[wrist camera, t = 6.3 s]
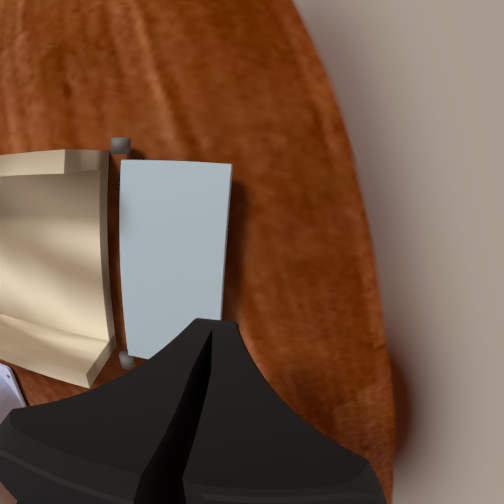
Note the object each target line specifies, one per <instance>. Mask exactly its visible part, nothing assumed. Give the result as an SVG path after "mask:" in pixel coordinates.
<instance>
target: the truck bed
mask: <svg viewBox="0 0 504 504" xmlns="http://www.w3.org/2000/svg"><path fill="white" fill-rule="evenodd" d="M130 141H131V138H111V150H110V154H130ZM108 166H109V151H107V150H52V151H39V152H28V153H18V154H9V155H1V156H0V359H2V360H5V361H7V362H10V363H12V364H15V365H18V366H20V367H23V368H26V369H28V370H31V371H34V372H37V373H40V374H43V375H46V376H49V377H52V378H55V379H58V380H61V381H65V382H68V383H72V384H75V385H79V386H82V387H86V388H90V387H91V385H92V384H93V382H94V381H95V379H96V377H97V376H98V374H99V373H100V371H101V369H102V368H103V366H104V365H105V363H106V362H107V360H108V358H109V357H110V355H111V354H112V352H113V351H114V349H115V348H116V346H117V344H116V336H115V329H114V320H113V311H112V301H111V290H110V277H109V260H108V231H107V194H108ZM119 358H120V364H121V367H122V368H123V369H127V370H129V369H133V368H134V367H135V366H136V360H135V356H130V355H128V350H124V351H121V352H120V353H119Z"/></svg>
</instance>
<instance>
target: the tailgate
mask: <svg viewBox="0 0 504 504" xmlns="http://www.w3.org/2000/svg"><path fill="white" fill-rule="evenodd" d="M232 172H233V164H222V163H206V162H188V161H164V160H121V173H120V206H119V234H120V268H121V286H122V300H123V312H124V322H125V332H126V340H127V348H128V355H130V356H135V357H140V358H145V359H149V358H151V357H152V356H153V355H155V354H156V353H157V352H159V351H160V350H161V349H163V348H164V347H165V346H166V345H167V344H168V343H170V342H171V341H172V340H173V339H174V338H175V337H176V336H177V335H179V334H180V333H181V332H182V331H183V330H184V329H185V328H186V327H187V326H188V325H189V324H190V323H191V322H192V321H193V320H194V319H196V318H203V319H213V320H222V307H223V291H224V276H225V261H226V247H227V234H228V221H229V208H230V196H231V184H232Z"/></svg>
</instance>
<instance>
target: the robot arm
mask: <svg viewBox="0 0 504 504" xmlns="http://www.w3.org/2000/svg"><path fill="white" fill-rule="evenodd" d="M0 482H1V483H2V484H3V485H4V486H5V488H6V489H7V490H8V491H9V492H10V493H11V494H12V495H13V497H14V498H15V499H16V500H17V501H18V502H17V504H387V502H386V499H385V496H384V493H383V490H382V487H381V485H380V482H379V480H378V478H377V476H376V474H375V472H374V470H373V469H372V467H371V465H370V463H369V461H368V460H367V459H365V458H363V457H361V456H359V455H358V454H356V453H354V452H352V451H350V450H348V449H346V448H345V447H343V446H341V445H339V444H337V443H336V442H334V441H332V440H331V439H329V438H328V437H326V436H325V435H323V434H322V433H320V432H319V431H318V430H316V429H315V428H313V427H312V426H311V425H310V424H308V423H307V422H306V421H305V420H304V419H302V418H301V417H300V416H299V415H298V414H297V413H296V412H294V411H293V410H292V409H291V408H290V407H289V406H288V405H287V404H286V403H285V402H284V401H283V400H282V399H281V398H280V396H279V395H278V394H277V393H276V392H275V391H274V390H273V388H272V387H271V386H270V385H269V383H268V382H267V381H266V379H265V378H264V376H263V375H262V373H261V372H260V371H259V369H258V368H257V366H256V364H255V363H254V361H253V359H252V357H251V355H250V354H249V352H248V350H247V348H246V346H245V344H244V341H243V339H242V337H241V334H240V331H239V325H238V324H237V323H236V322H235V321H224V320H213V319H203V318H196V319H194V320H193V321H192V322H191V323H190V324H189V325H188V326H187V327H186V328H185V329H184V330H183V331H182V332H181V333H180V334H179V335H177V336H176V337H175V338H174V339H173V340H172V341H171V342H170V343H168V344H167V345H166V346H165V347H164V348H163V349H161V350H160V351H159V352H157V353H156V354H155V355H153V356H152V357H151V358H149V359H148V360H147V361H145V362H144V363H143V364H141V365H140V366H138V367H136V368H135V369H133V370H131V371H130V372H128V373H126V374H124V375H123V376H121V377H119V378H117V379H115V380H112V381H110V382H108V383H106V384H103V385H101V386H99V387H97V388H94V389H92V390H90V391H87V392H84V393H81V394H78V395H75V396H72V397H69V398H65V399H62V400H58V401H54V402H50V403H45V404H40V405H34V406H28V407H27V406H26V403H25V401H24V399H23V396H22V394H21V392H20V389H19V387H18V384H17V382H16V379H15V377H14V374H13V371H12V370H11V368H10V367H8V366H6V365H3V364H1V363H0Z"/></svg>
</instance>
